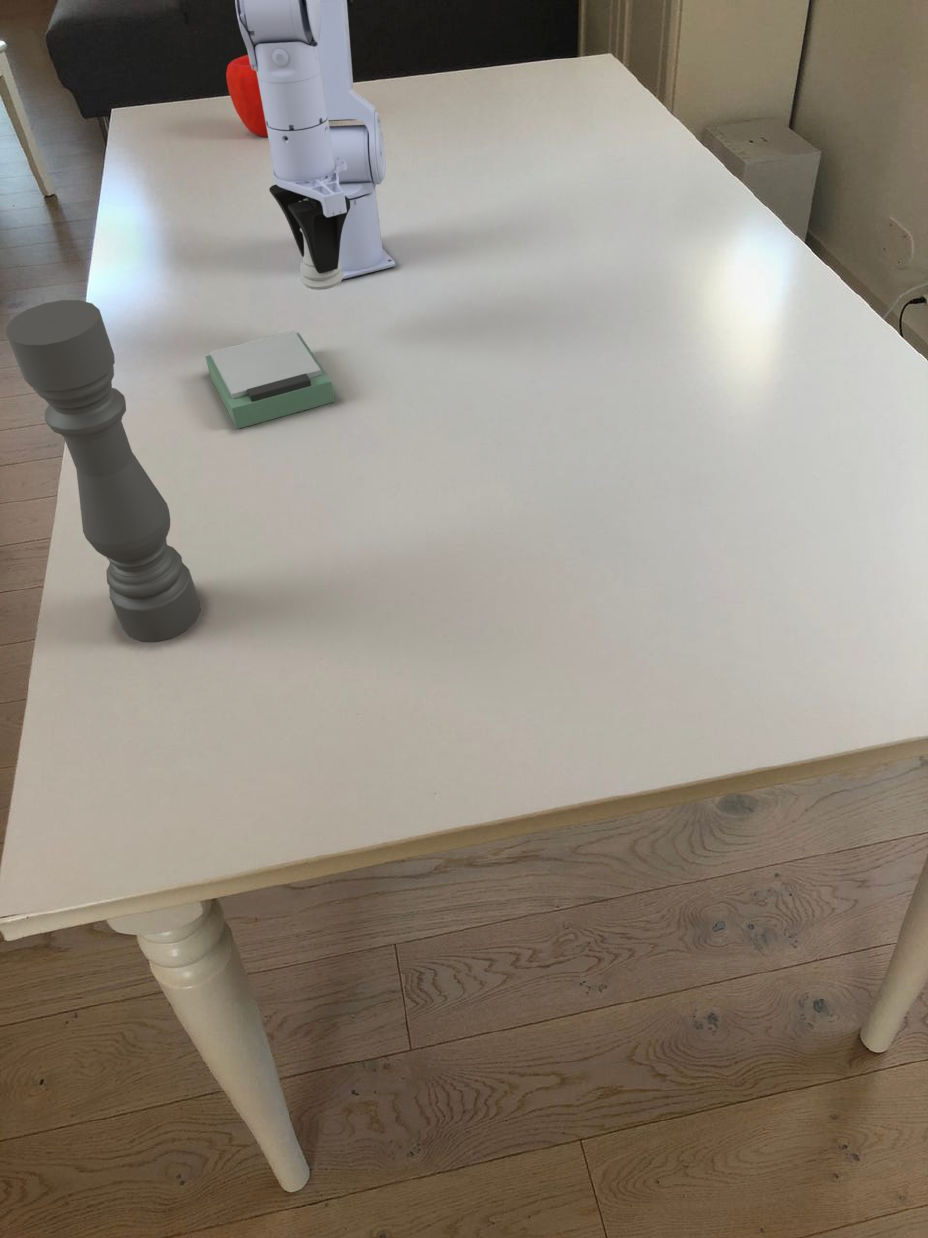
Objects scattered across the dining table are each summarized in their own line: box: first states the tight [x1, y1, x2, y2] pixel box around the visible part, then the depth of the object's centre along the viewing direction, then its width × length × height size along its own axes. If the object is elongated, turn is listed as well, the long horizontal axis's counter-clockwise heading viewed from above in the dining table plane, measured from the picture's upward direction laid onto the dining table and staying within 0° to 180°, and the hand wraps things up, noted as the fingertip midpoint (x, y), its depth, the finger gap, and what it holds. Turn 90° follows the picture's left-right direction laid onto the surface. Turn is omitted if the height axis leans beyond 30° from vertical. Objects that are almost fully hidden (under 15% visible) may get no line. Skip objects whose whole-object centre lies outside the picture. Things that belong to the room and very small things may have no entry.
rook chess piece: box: [299, 198, 344, 291], centre depth 101 cm, size 4×4×8 cm
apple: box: [225, 54, 268, 138], centre depth 153 cm, size 9×9×11 cm
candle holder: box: [5, 299, 201, 643], centre depth 71 cm, size 6×6×25 cm
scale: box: [204, 329, 335, 430], centre depth 101 cm, size 11×10×3 cm
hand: (320, 262), depth 102 cm, fingers closed on rook chess piece, 3 cm apart
